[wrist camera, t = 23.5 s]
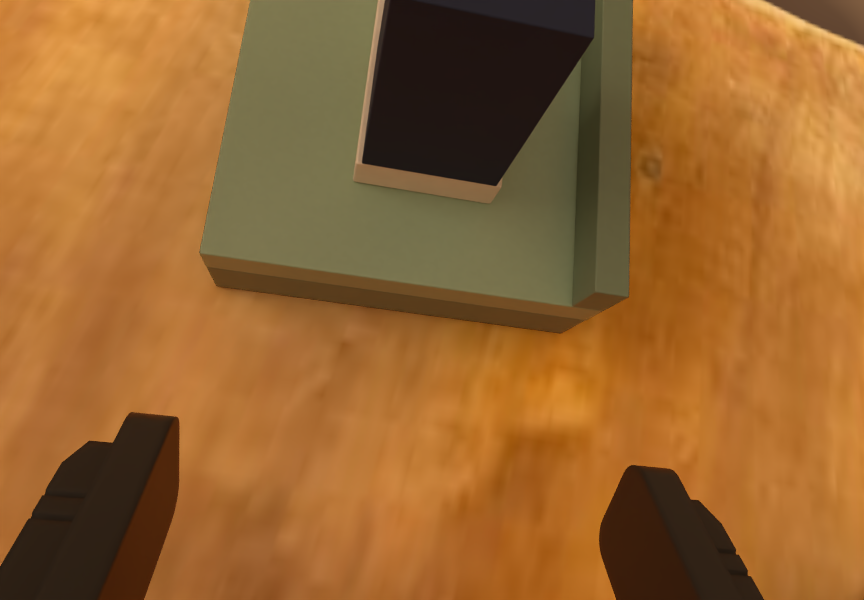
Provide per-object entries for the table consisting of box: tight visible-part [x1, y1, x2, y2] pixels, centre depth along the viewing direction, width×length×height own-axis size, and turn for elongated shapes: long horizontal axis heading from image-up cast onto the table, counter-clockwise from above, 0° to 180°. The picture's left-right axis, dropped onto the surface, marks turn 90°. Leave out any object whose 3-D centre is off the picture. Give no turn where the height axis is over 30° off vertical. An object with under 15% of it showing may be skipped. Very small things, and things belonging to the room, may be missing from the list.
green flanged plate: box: [199, 0, 633, 333], centre depth 25 cm, size 14×16×6 cm
